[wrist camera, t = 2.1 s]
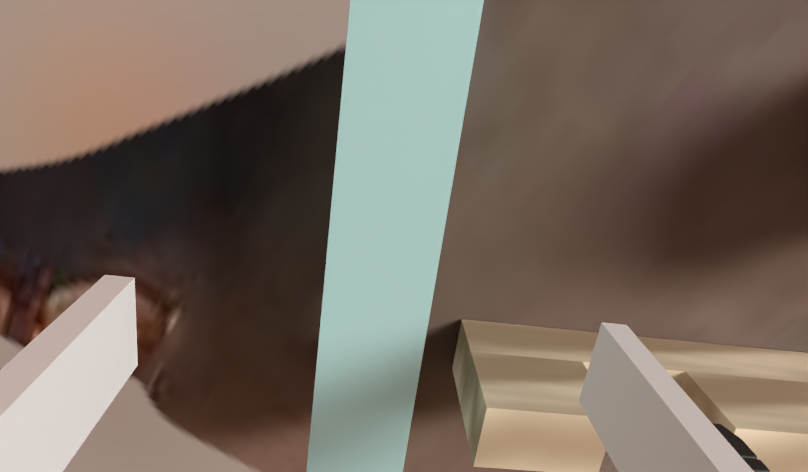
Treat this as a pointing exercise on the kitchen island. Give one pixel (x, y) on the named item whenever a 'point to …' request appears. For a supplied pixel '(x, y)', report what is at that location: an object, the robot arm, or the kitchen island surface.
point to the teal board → (387, 223)
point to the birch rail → (563, 381)
